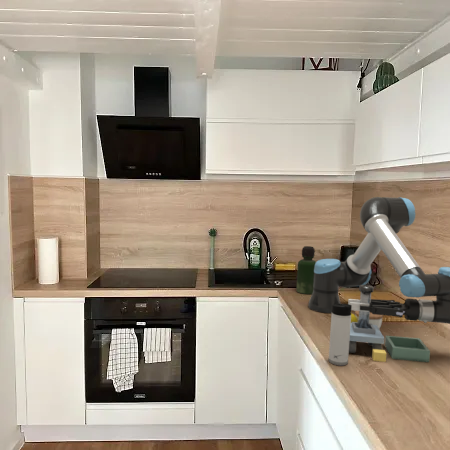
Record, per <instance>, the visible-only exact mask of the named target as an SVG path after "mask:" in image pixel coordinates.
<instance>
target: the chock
mask: <svg viewBox="0 0 450 450" xmlns="http://www.w3.org/2000/svg"><path fill="white" fill-rule="evenodd" d="M371 351H372V352H371V358H372V360H373V362H383V363H386V362H387V354H388V352H386V350H385V349H382V350H379V349H372V348H371Z"/></svg>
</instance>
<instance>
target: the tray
mask: <svg viewBox="0 0 450 450" xmlns="http://www.w3.org/2000/svg"><path fill="white" fill-rule="evenodd" d="M384 347H385V349H386V351H387V354H389V355H390V358H391V359H392V360H401V361H411V362H421V363H430V357H431V350H430V349H429V347H427V345H426V344H425V343H424V342H423V340H421V338H419V337H406V336H397V335H396V336H395V335H385V337H384Z"/></svg>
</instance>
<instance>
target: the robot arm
mask: <svg viewBox="0 0 450 450" xmlns="http://www.w3.org/2000/svg"><path fill="white" fill-rule="evenodd" d="M360 208H361V209H360V211H359V220H360V223H361V225H362V227H363V229H364V230H365V231H366V232H367V234H366V236H365V237H364V239H363V240H362V241H361V243H360V244H359V246H358V248H357V249H356V250H355V252H354V253H353V254H350V255H349V256H348V257H347V258H346V260H345V261H340V260H339V259H337V258H323V259H318V260H317V261H316V263H315V268H314V285H313V293H312V294H310V295H311V296H310V298H309V301H308V308H309V309H310V310H311V311H315V312H318V313H325V314H332V305H333V304H335V305H336V304H342V302H341V299H340V296H339V288H341V287H342V288H343V287H359V286H360V285H368V283H369V282H370V281H371V278H372V269H371V268H372V267H371V265H372V263H373V262H374V260H375V259H376V257H378V255H379V253H380V252H381V251H382V252H383V254H384V256H385V257H386V258H387V260H388V261H389V263H390V264H391V266H392V268H393V269H394V271H396V273H397V274H398V276H399V278H400V279H399V281H398V285H399V286H398V287H399V290H400V292H401V294H402V295H403V296H405V297H408V298H406V299H405V300H404V303H402V302H400V301H396V300H395V299H377V298H375V299H374V298H371V303H370V306H369V304H366V303H360V299H353V298H348V300H347V301H348V303H347V304H349V305H352V308H351V311H354V312H355V311H366V312H371V313H372V314H377V315H383V316H387V317H397V318H401V319H402V318H403V316H404V319H405V320H406V321H417V322H418V321H419V322H423V323H424V324H427V323H428V322H429V323H439V324H440V323H441V324H449V325H450V266H441V267H439V268H438V272H437V273H425V271H424V270H423V269H422V268H421V266H420V264H419V263H418V262H417V261H416V260H415V258H414V257H413V255H412V254H411V252H410V251H409V249H408V248H407V247H406V246H405V244H404V242H403V241H402V240H401V239H400V237H399V236H398V235H397V234H399V232H400V231H401V229H402V228H403V227H409V226H411V225H413V223H414V222H415V219H416V207H415V205H414V203H413V202H412V201H411V200H410V199H409V198H407V197H406V198H405V197H385V196H375V197H371V198H369V199H368V200H366V201H364V203H363V205H362V206H361V207H360ZM424 297H427V298H428V297H435V298H436V299H435V300H431V299H421V298H424ZM417 298H420V299H417Z"/></svg>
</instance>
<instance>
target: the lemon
mask: <svg viewBox="0 0 450 450" xmlns="http://www.w3.org/2000/svg"><path fill="white" fill-rule="evenodd" d="M352 322H357V318H356V316H355V313H352V312H351V323H352Z"/></svg>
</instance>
